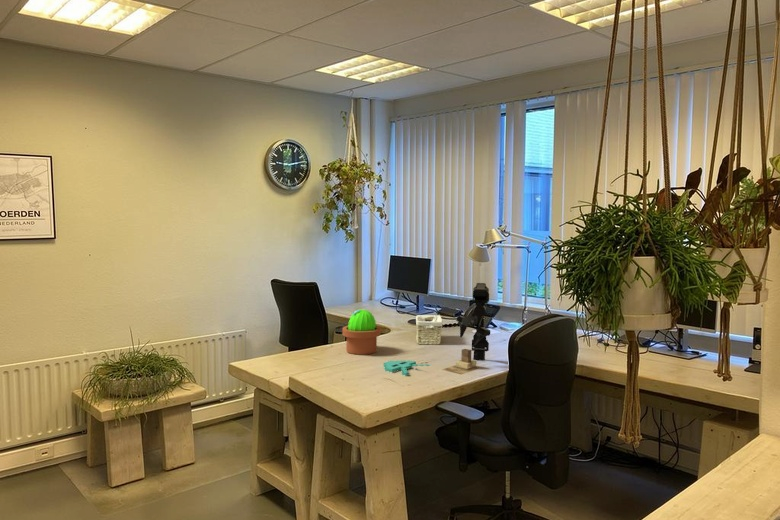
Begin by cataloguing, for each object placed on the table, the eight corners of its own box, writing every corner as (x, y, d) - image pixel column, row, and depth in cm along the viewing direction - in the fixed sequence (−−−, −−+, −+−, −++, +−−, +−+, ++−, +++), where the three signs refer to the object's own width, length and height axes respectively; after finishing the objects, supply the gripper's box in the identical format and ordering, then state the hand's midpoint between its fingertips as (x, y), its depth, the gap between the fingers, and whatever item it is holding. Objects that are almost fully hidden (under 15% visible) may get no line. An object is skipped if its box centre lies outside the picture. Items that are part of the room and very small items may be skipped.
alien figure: (429, 368, 297) (399, 362, 310) (429, 364, 297) (399, 358, 310) (405, 377, 282) (375, 369, 294) (406, 372, 282) (375, 365, 294)
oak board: (462, 365, 302) (463, 362, 302) (482, 370, 294) (482, 367, 294) (441, 372, 289) (441, 369, 289) (461, 377, 281) (461, 374, 281)
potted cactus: (381, 347, 342) (381, 305, 340) (379, 356, 320) (379, 312, 318) (344, 346, 342) (344, 305, 340) (340, 355, 320) (340, 311, 318)
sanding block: (465, 364, 299) (465, 347, 298) (476, 366, 294) (476, 349, 294) (455, 367, 293) (456, 350, 292) (467, 369, 288) (467, 352, 288)
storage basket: (415, 336, 372) (416, 314, 371) (440, 337, 371) (441, 314, 370) (415, 345, 348) (416, 321, 347) (442, 345, 347) (443, 321, 346)
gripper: (455, 304, 292) (444, 332, 294) (483, 319, 279) (472, 348, 281) (467, 306, 300) (457, 333, 302) (495, 320, 287) (484, 349, 289)
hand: (467, 341), depth 293 cm, fingers open, 9 cm apart
